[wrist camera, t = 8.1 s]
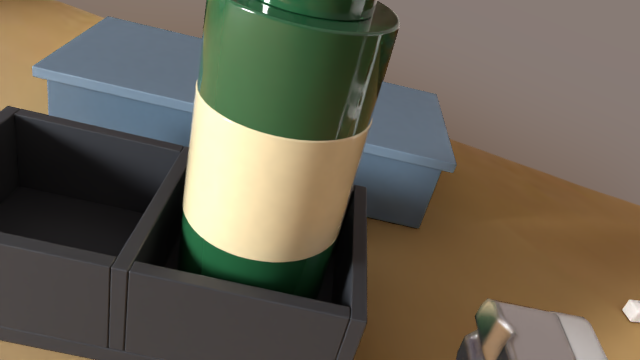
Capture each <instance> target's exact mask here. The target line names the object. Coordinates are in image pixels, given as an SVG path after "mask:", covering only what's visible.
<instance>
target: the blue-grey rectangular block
mask: <svg viewBox="0 0 640 360" xmlns="http://www.w3.org/2000/svg"><path fill="white" fill-rule="evenodd" d="M201 45H202V38H197V37H193V36H189V35H184V34H181V33H176V32H172V31H168V30H164V29H160V28H155V27H151V26H147V25H143V24H138V23H134V22H130V21H126V20H121V19H117V18H113V17H109V16H108V17H106V18H105V19H103V20H102V21H100V22H99V23H97V24H96V25H94V26H92V27H91V28H89V29H88V30H86V31H85V32H83V33H82V34H80V35H79V36H77V37H76V38H74V39H73V40H71V41H70V42H68V43H67V44H65V45H64V46H62V47H61V48H59V49H58V50H56V51H55V52H53V53H52V54H50V55H49V56H47V57H46V58H44V59H43V60H41V61H40V62H38V63H37V64H35V65H34V66H32V72H33V76H34V77H38V78H42V79H47V86H48V112H49V115H50V116H55V117H59V118H64V119H68V120H72V121H77V122H81V123H86V124H90V125H95V126H99V127H103V128H108V129H112V130H117V131H121V132H125V133H130V134H134V135H139V136H143V137H147V138H152V139H156V140H161V141H165V142H169V143H174V144H178V145H183V146H186V147H189V140H190V131H191V122H192V113H193V104H194V95H195V86H196V81H197V79H198V72H199V63H200V54H201ZM456 165H457V164H456V160H455V157H454V154H453V150H452V147H451V143H450V140H449V137H448V133H447V129H446V126H445V122H444V119H443V115H442V112H441V108H440V105H439V101H438V98H437V95H436V94H433V93H429V92H425V91H420V90H416V89H412V88H408V87H404V86H399V85H395V84H391V83H386V82H383V84H382V87H381V90H380V94H379V97H378V100H377V104H376V107H375V110H374V114H373V121H372V125H371V129H370V132H369V135H368V139H367V142H366V145H365V149H364V152H363V155H362V159H361V162H360V165H359V169H358V172H357V175H356V179H355V182H354V186H355V185H359V186H363V187H366V188H367V217H369V218H373V219H378V220H382V221H387V222H391V223H396V224H400V225H405V226H409V227H414V228H419V227H420V225H421V222H422V220H423V217H424V214H425V212H426V209H427V207H428V204H429V202H430V199H431V197H432V194H433V191H434V189H435V186H436V184H437V181H438V179H439V176H440V174H441V171H446V172H451V173H453V172H454V170H455V168H456Z"/></svg>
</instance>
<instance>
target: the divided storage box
mask: <svg viewBox="0 0 640 360" xmlns="http://www.w3.org/2000/svg"><path fill="white" fill-rule="evenodd" d="M188 149H189V147H186V146H183V145H178V144H174V143H169V142H165V141H161V140H156V139H152V138H147V137H143V136H139V135H134V134H130V133H125V132H121V131H117V130H112V129H108V128H103V127H99V126H95V125H90V124H86V123H81V122H77V121H72V120H68V119H64V118H59V117H55V116H50V115H46V114H42V113H37V112H33V111H28V110H24V109H19V108H15V107H10V106H7V107H6V108H4V109H3V110H2V111H0V340H2V341H7V342H12V343H16V344H21V345H26V346H31V347H36V348H41V349H46V350H51V351H56V352H60V353H65V354H70V355H75V356H80V357H85V358H90V359H95V360H353V359H354V357H355V354H356V351H357V348H358V346H359V343H360V340H361V338H362V335H363V332H364V330H365V327H366V324H367V188H366V187H363V186H359V185H355V186H354V185H353V189H352V192H351V195H350V199H349V202H348V205H347V209H346V212H345V216H344V219H343V222H342V226H341V229H340V232H339V234H338V237H337V238H336V241H335V245H334V248H333V251H332V255H331V258H330V261H329V265H328V268H327V271H326V275H325V278H324V281H323V285H322V288H321V291H320V295H319V298H318V300H315V299H310V298H305V297H301V296H296V295H292V294H287V293H282V292H278V291H273V290H268V289H264V288H259V287H254V286H250V285H245V284H240V283H236V282H231V281H226V280H222V279H217V278H212V277H208V276H203V275H198V274H194V273H189V272H184V271H180V270H177V261H178V252H179V243H180V234H181V225H182V216H183V195H184V185H185V176H186V167H187V158H188Z"/></svg>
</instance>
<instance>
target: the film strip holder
mask: <svg viewBox="0 0 640 360" xmlns="http://www.w3.org/2000/svg"><path fill="white" fill-rule="evenodd" d="M622 310H623V312H624V313H625V315H626V316H627V317H628V319H629V320H630V321H631V322H640V301H638V300H629V301H628V302H627V303H626V305H625V306H624V308H623V309H622Z"/></svg>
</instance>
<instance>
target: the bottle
mask: <svg viewBox="0 0 640 360" xmlns="http://www.w3.org/2000/svg"><path fill="white" fill-rule="evenodd" d="M399 27H400V21H399V18H398V17H397V15H396V14H395V13H394V12H393V11H392V10H391V9H389V8H388V7H387V6H385V5H384V4H382V3H380V2H379V1H377V0H207V2H206V9H205V18H204V27H203V36H202V45H201V54H200V63H199V72H198V79H197V81H196V86H195V95H194V104H193V113H192V122H191V131H190V140H189V149H188V158H187V167H186V176H185V185H184V195H183V216H182V225H181V234H180V243H179V252H178V261H177V270H180V271H184V272H189V273H194V274H198V275H203V276H208V277H212V278H217V279H222V280H226V281H231V282H236V283H240V284H245V285H250V286H254V287H259V288H264V289H268V290H273V291H278V292H282V293H287V294H292V295H296V296H301V297H305V298H310V299H315V300H318V298H319V295H320V291H321V288H322V285H323V281H324V278H325V275H326V271H327V268H328V265H329V261H330V258H331V255H332V251H333V248H334V245H335V241H336V238H337V237H338V234H339V232H340V229H341V226H342V222H343V219H344V216H345V212H346V209H347V205H348V202H349V199H350V195H351V192H352V189H353V185H354V182H355V179H356V175H357V172H358V169H359V165H360V162H361V159H362V155H363V152H364V149H365V145H366V142H367V139H368V135H369V132H370V129H371V125H372V121H373V114H374V110H375V107H376V104H377V100H378V97H379V94H380V90H381V87H382V84H383V80H384V77H385V73H386V70H387V67H388V63H389V60H390V57H391V53H392V50H393V46H394V43H395V40H396V37H397V33H398V30H399Z"/></svg>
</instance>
